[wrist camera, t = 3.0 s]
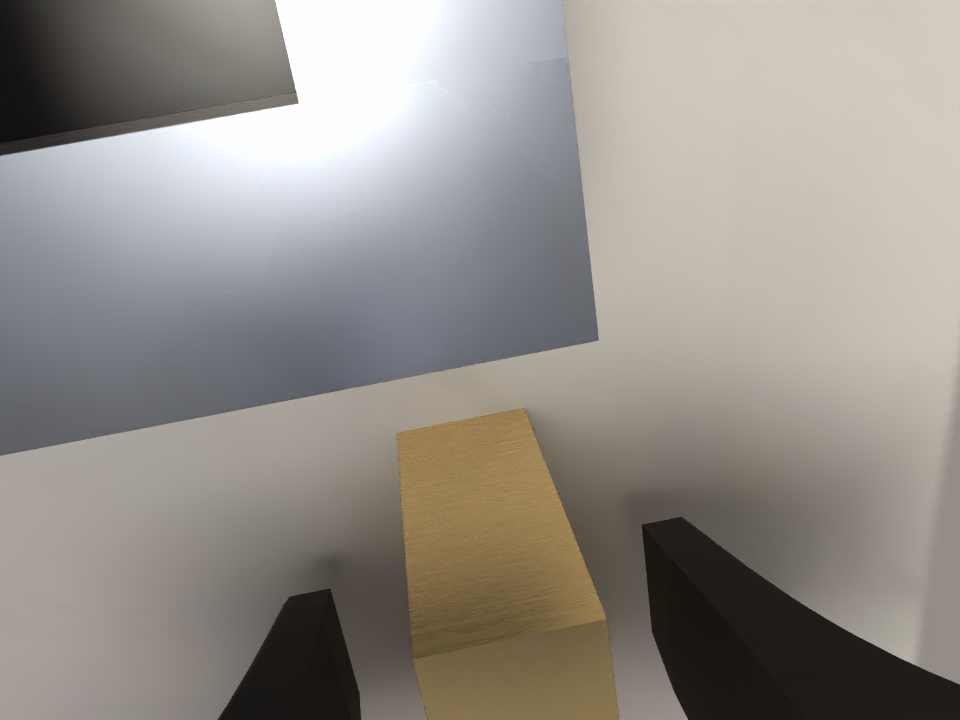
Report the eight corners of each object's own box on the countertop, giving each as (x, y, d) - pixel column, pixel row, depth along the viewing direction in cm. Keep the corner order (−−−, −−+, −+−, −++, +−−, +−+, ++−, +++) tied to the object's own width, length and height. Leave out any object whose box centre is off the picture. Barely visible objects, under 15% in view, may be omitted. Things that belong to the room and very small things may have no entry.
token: (561, 656, 15) (645, 935, 11) (451, 680, 15) (487, 973, 11) (523, 407, 13) (607, 618, 9) (396, 432, 13) (412, 659, 9)
